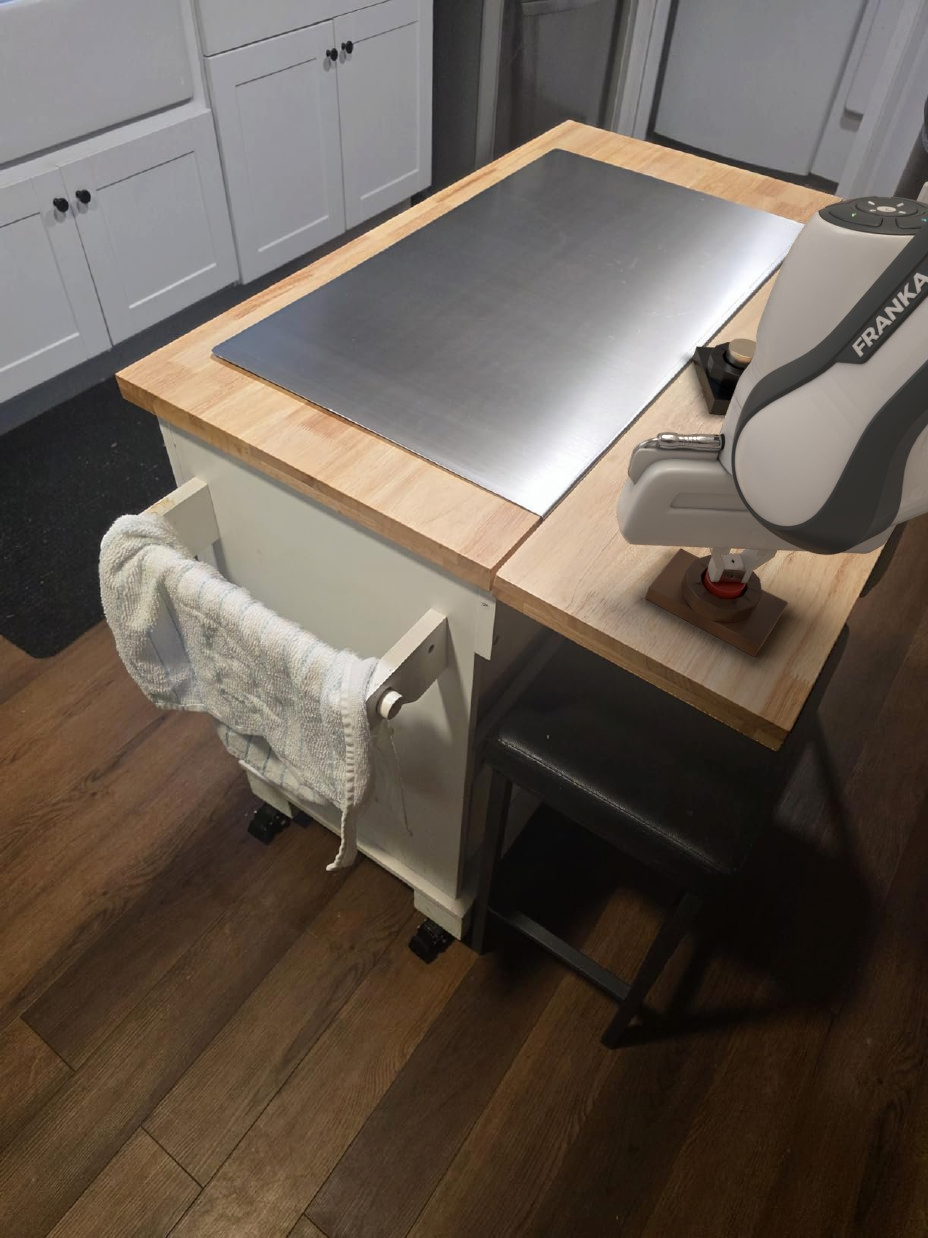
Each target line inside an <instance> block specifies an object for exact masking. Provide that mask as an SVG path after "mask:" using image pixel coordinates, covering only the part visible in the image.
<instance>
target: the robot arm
mask: <svg viewBox="0 0 928 1238" xmlns="http://www.w3.org/2000/svg"><path fill="white" fill-rule="evenodd" d="M755 342H756V349H755V354H754V357H753V359H752V361H751V363H750V364H749V365H748V367H747V368H746V369H745V371H744V372H743V374H742V375H741V376H740V378H739V381H738V383H737V386H736V389H735V391H734V394H733V397H732V399H731V402H730V405H729V408H728V410H727V413H726V414H725V416H724V420H723V421H722V422H723V423H722V424H721V427H720V429H719V432H718V434H716V433H715V434H713V433H691V434H684V433H677V432H671V431H667V432H658V433H657V435H656V436H655V437H651V438H648V439H646V440H643V441H641V442H640V443H637V444H636V445H635V446H634V448H633V450H632V452H631V454H630V459H629V462H628V466H627V477H626V479H625V482H624V484H623V486H622V489H621V492H620V493H619V496H618V500H617V503H616V510H615V511H616V521H617V525H618V526H617V527H618V529H619V532H620V534H621V536H622V537H623V539H624V541H626V542H627V544H629V545H633V546H655V547H657V546H658V547H660V546H661V547H680V548H681V547H683V548H704V549H705V548H707V549H709V552H710V555H711V556H712V557H711V560H710V562H709V565H708V573H709V576H710V580H711V582H736V583H747V582H748V580H749V578H750V576H751V574H752V571H756V570H757V569H759V568H760V567H761V566H763V565H765V564H766V563H767V562H769V561H770V560H772V559H774V558H775V557H776V555H777V552H778V551H785V552H807V553H811V554H816V555H820V556H834V555H839V554H857V555H858V554H859V555H867V554H870V553H872V552H874V551H876V550H877V549H879V548H881V547H883V546H884V545H885V544H886V543H887V541H888V540H889V538H890V537H891V536H892V534H893V532H894V530H895V528H896V526H897V525H900V524H902V523H904V522H907V521H910V520H911V519H914V518H917V517H920V516H922V515H924V514H927V513H928V204H926V203H923V202H920V201H917V199H916V200H915V199H911V198H906V197H899V196H877V195H870V196H869V195H868V196H864V197H856V198H855V197H854V198H850V199H846V200H842V201H838V202H835V203H831V204H828V205H825V206H824V207H823V208H821V209H819V210H817V211H816V212H814V214H812V215H811V216H810V218H809V219H808V220H807V221H806V222H805V224H804V226H803V227H802V228H801V229H800V231H799V232H798V234H797V235H796V237H795V239H794V241H793V243H792V244H791V246H790V248H789V250H788V252H787V254H786V256H785V258H784V260H783V262H782V264H781V267H780V269H779V271H778V273H777V275H776V278H775V280H774V282H773V285H772V288H771V290H770V292H769V295H768V297H767V300H766V303H765V306H764V308H763V311H762V313H761V317H760V319H759V322H758V325H757V329H756V334H755ZM733 549H734V550H742V551H741V552H740V553H730V552H731V550H733Z"/></svg>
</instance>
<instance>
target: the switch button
mask: <svg viewBox="0 0 928 1238" xmlns="http://www.w3.org/2000/svg"><path fill="white" fill-rule="evenodd" d="M729 342H730V343H729V346H728V349H727V352H726V355H725V358H724V360H725V362H726V363H727V364H728V365H730V366H731V367H733V368H736V369H739V370H744V371H745V369H746V368H747V367H748V365H749V364H750V363H751V361H752V359H753V357H754V354H755V349H756V340H753V339H749V338H743V337H742V338H735V339H732V340H731V341H729Z"/></svg>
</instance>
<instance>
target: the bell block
mask: <svg viewBox="0 0 928 1238" xmlns="http://www.w3.org/2000/svg"><path fill="white" fill-rule="evenodd" d="M711 557H712V556H711V554H708V555H704V556H702V557H699V556H697V555H695V554H693V553H691V552H689V551H688V550H686V549H683V548H681V547H680V548H679V549H678V550H677V552H676V553H675V554H674V555H673V557H672V558H671V559H670V560H669V561H668V563H667V564H666V565H665V566H664V567H663V569H662V570H661V571H660V573H659V574H658V575H657V576H656V578H655V579H654V580H653V582H652V583H651V584H650V585H649V587H648V589H647V592H646V594H645V597H644V598H645V600H648V602H651V603H653V604H655V605H657V606H658V607H660V608H662V609H664V610H666V611H668V612H669V613H672V614H673V615H675V616H677V617H679V618H681V619H682V620H685V621H686V622H688V623H691V624H692V625H693V626H696V627H698V628H699V629H701V630H704V632H705V631H706V632H707V633H709V634H710V635H713V636H715V637H717V638H718V639H721V640H722V641H724V642H726V643H728V644H730V645H732V646H734V647H735V648H737V649H739V650H741V651H743V652H744V653H747V654H748V655H750V656H752V657H756V656H757V654H758V653H759V651H760V650H761V648H762V646H763V645H764V644H765V642H766V640H767V639H768V637H769V636H770V634H771V633H772V631H773V629H774V628H775V626H776V624H777V623H778V622H779V620H780V618H781V617H782V615H783V613H784V612H785V610H786V607H787V606H788V604H789V602H788V601H786V600H784V599H782V598H780V597H778V596H777V595H774V594H772V593H770V592H768V591H767V590H764V589H762V583H761V578H760V577H759V576H758V575H757V573H756V572H754V571H755V570H753V571H752V574H751V576H750V578H749V580H748V582H747V583H745V587H744V589H743V591H742V593H741V595H740V597H739V598H736V599H733V600H732V599H723V598H719V597H717V596H715V595H713V594H712V593H710V592H708V591H707V589H706V588H705V587H704V586H703V585H702V582H703V579H704V577H705V574H706V572H707V570H708V565H709V562H710V560H711Z"/></svg>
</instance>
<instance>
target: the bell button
mask: <svg viewBox="0 0 928 1238" xmlns="http://www.w3.org/2000/svg"><path fill="white" fill-rule="evenodd" d="M702 585H703V586H704V587H705V588H706V589H707V591H708V592H710V593H712V594H713V595H715V596H717V597H719V598H723V599H732V600H733V599H736V598H739V597H740V595H741V593H742V591H743V589H744V587H745V583H736V582H711V580H710V576H709V573H708V570H707V572H706V574H705V577H704V579H703V582H702Z"/></svg>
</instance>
